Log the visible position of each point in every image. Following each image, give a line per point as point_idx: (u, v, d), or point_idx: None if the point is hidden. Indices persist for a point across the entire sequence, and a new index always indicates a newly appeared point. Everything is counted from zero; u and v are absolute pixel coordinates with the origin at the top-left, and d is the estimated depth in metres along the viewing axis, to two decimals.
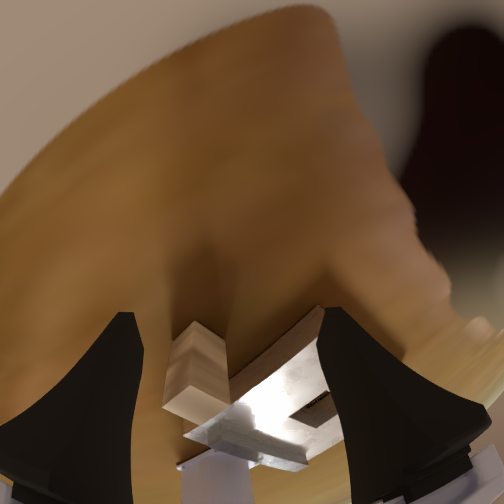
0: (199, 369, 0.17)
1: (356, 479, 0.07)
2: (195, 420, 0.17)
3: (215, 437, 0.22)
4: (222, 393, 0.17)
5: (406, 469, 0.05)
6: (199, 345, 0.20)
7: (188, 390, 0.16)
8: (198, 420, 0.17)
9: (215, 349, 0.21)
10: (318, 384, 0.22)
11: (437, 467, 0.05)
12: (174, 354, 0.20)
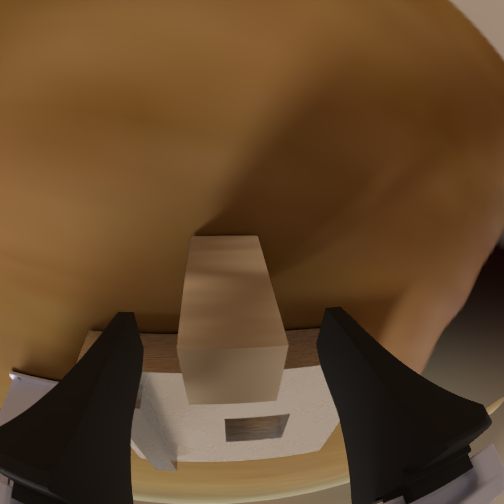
0: None
1: (356, 479, 0.07)
2: (196, 395, 0.09)
3: None
4: None
5: (406, 469, 0.05)
6: None
7: (269, 351, 0.08)
8: (198, 397, 0.09)
9: None
10: (294, 405, 0.17)
11: (437, 467, 0.05)
12: (206, 259, 0.12)
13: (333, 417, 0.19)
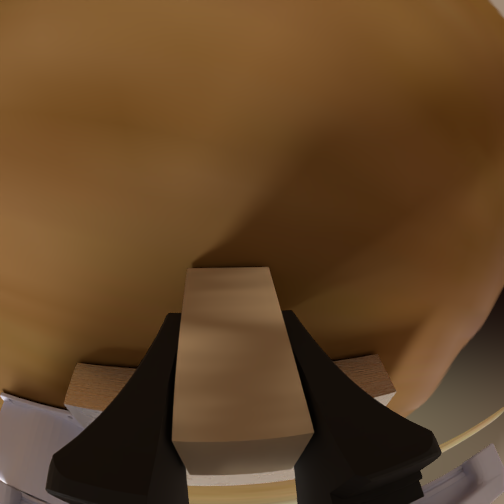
0: None
1: (300, 492, 0.06)
2: (198, 470, 0.06)
3: None
4: None
5: (334, 493, 0.04)
6: None
7: (289, 439, 0.06)
8: (201, 471, 0.07)
9: None
10: None
11: (378, 493, 0.04)
12: (207, 303, 0.09)
13: None
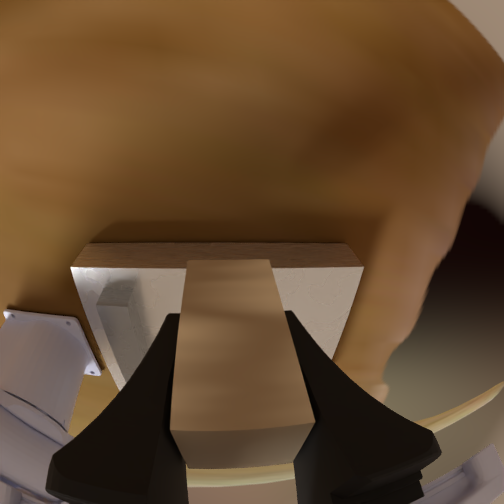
0: None
1: (300, 492, 0.06)
2: (197, 462, 0.06)
3: (116, 299, 0.15)
4: None
5: (335, 493, 0.04)
6: None
7: (290, 429, 0.06)
8: (200, 464, 0.07)
9: None
10: None
11: (378, 493, 0.04)
12: (207, 293, 0.09)
13: (325, 350, 0.21)
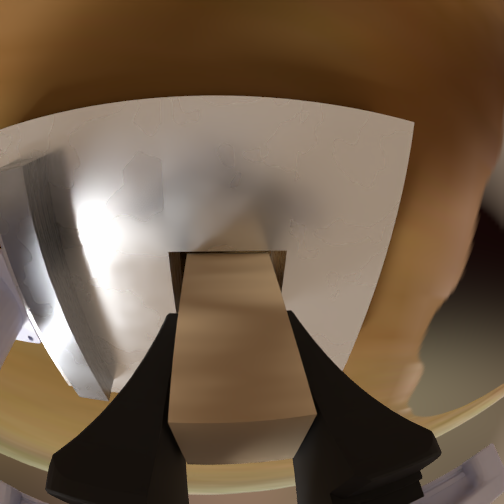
0: None
1: (300, 492, 0.06)
2: (196, 458, 0.06)
3: (15, 165, 0.07)
4: None
5: (334, 493, 0.04)
6: None
7: (291, 421, 0.06)
8: (199, 459, 0.06)
9: None
10: (292, 220, 0.11)
11: (378, 493, 0.04)
12: (206, 286, 0.09)
13: (362, 285, 0.13)
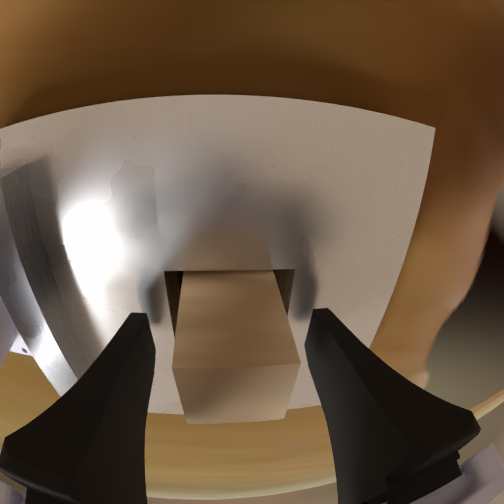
0: None
1: (342, 483, 0.07)
2: (195, 414, 0.08)
3: None
4: None
5: (389, 476, 0.05)
6: None
7: (278, 369, 0.07)
8: (198, 416, 0.08)
9: None
10: (302, 236, 0.10)
11: (424, 474, 0.05)
12: None
13: (373, 303, 0.12)
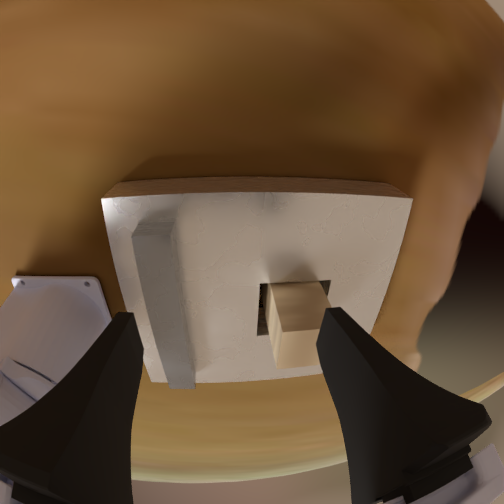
0: None
1: (356, 479, 0.07)
2: (283, 362, 0.15)
3: (155, 230, 0.14)
4: None
5: (406, 469, 0.05)
6: None
7: None
8: (284, 363, 0.16)
9: None
10: (336, 262, 0.17)
11: (437, 467, 0.05)
12: None
13: (374, 298, 0.19)
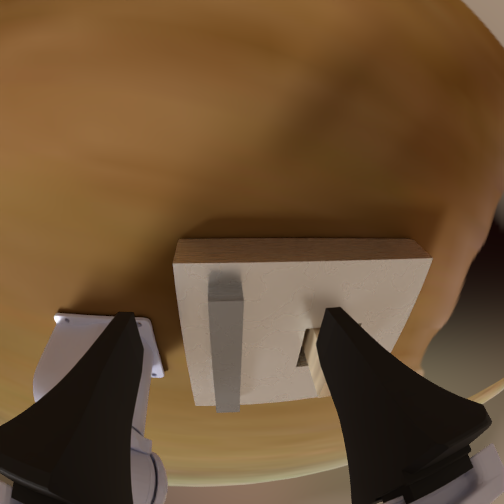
0: None
1: (356, 479, 0.07)
2: (324, 392, 0.18)
3: (228, 294, 0.16)
4: None
5: (406, 469, 0.05)
6: None
7: None
8: (325, 393, 0.18)
9: None
10: (367, 310, 0.20)
11: (437, 467, 0.05)
12: None
13: (393, 334, 0.22)
